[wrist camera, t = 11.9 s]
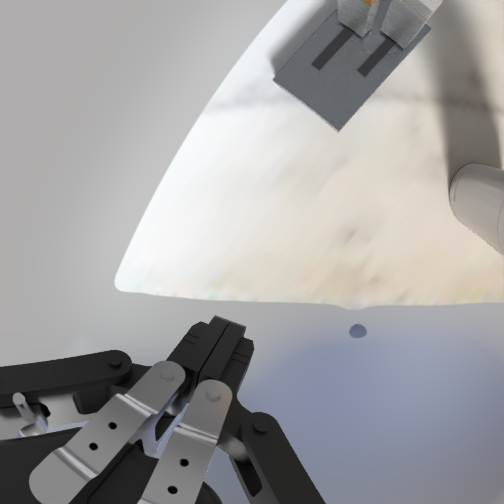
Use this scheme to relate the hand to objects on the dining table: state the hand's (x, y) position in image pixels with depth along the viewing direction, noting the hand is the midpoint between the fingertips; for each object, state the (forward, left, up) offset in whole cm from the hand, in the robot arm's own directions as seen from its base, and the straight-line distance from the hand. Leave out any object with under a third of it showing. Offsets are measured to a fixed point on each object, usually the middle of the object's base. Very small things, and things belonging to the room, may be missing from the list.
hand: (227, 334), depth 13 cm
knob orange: (-1, -25, -24) cm, 35 cm away
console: (-2, -22, -29) cm, 36 cm away
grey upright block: (-6, -25, -24) cm, 36 cm away
